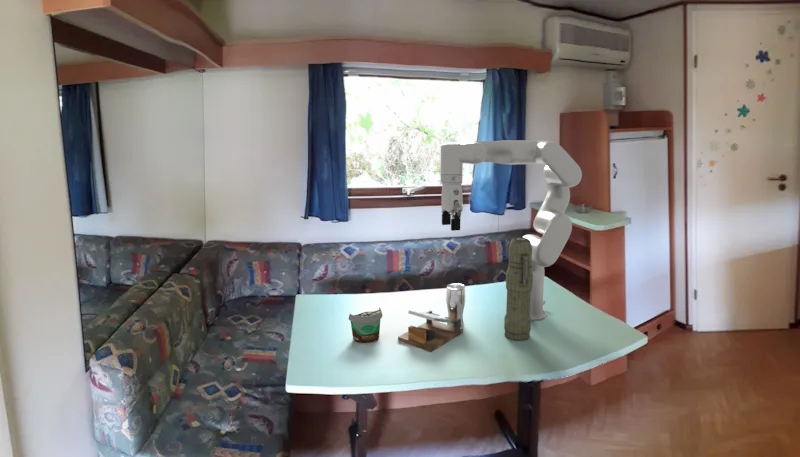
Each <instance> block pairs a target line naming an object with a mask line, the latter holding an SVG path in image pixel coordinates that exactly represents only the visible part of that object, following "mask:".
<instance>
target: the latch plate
mask: <svg viewBox="0 0 800 457" xmlns="http://www.w3.org/2000/svg"><path fill="white" fill-rule="evenodd" d="M425 313H433V311H432V310H429V311H426V312H425ZM425 319H426V318H425ZM407 328H408V329H407V331H406V332H404V333H402V334H400V335H399V336H397V342H400V343H404V344H406V345H408V346H412V347H413V348H414V347H415V348H418V349H420V350H424V351H426V352H428V353H429V352H430V353H432V352H434V351H435V350H437V349H439V348H441V347H442V346H444V345H446V344H447V343H448V342H451V341H452V340H454V339H455V338H457V337H460V336H461V335H462V334H463V332H464V331H463V329H462V327H461V319H458V320H456V321H455V327H453V326H450V325H447V323H444V322H438V321H432V320H429V319H426V322H424V323H422V324H420V325H418V326H415V325H409V326H408V327H407Z"/></svg>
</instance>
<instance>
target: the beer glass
mask: <svg viewBox="0 0 800 457" xmlns="http://www.w3.org/2000/svg"><path fill="white" fill-rule="evenodd" d="M445 296H446V297H445V298H446V300H445V301H446V307H447V313H448V318H452V319H455V320H458V319H461V328H463V327H464V326H465V324H464V309H465V304H466V285H465V284H462V283H450V284H447V285H446V293H445ZM446 325H450V326H453V327H455V324H452V323H447V322H446Z"/></svg>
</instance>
